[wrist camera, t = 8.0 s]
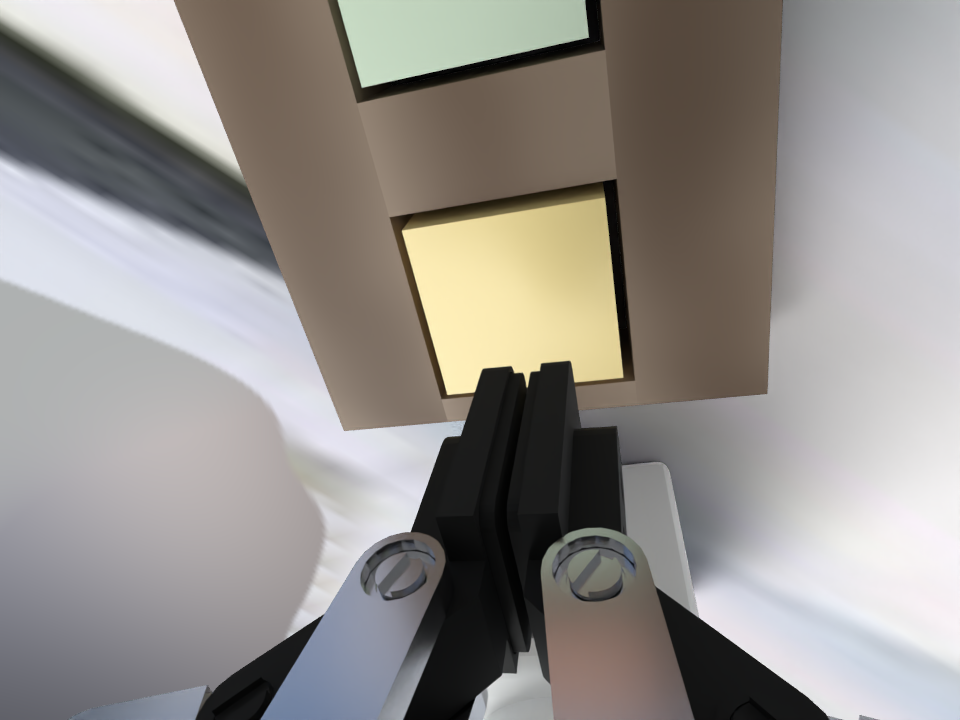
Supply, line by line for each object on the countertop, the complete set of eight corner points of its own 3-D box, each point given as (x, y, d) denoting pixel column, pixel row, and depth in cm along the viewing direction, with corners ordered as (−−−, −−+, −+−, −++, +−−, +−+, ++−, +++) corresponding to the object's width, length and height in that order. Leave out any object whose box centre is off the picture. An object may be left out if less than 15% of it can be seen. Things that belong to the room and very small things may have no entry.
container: (456, 478, 23) (346, 932, 12) (667, 455, 21) (771, 970, 10) (504, 609, 26) (454, 1047, 15) (686, 599, 24) (778, 1091, 14)
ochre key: (600, 165, 16) (605, 197, 13) (616, 324, 18) (623, 377, 16) (427, 195, 17) (401, 230, 14) (464, 341, 19) (447, 395, 17)
